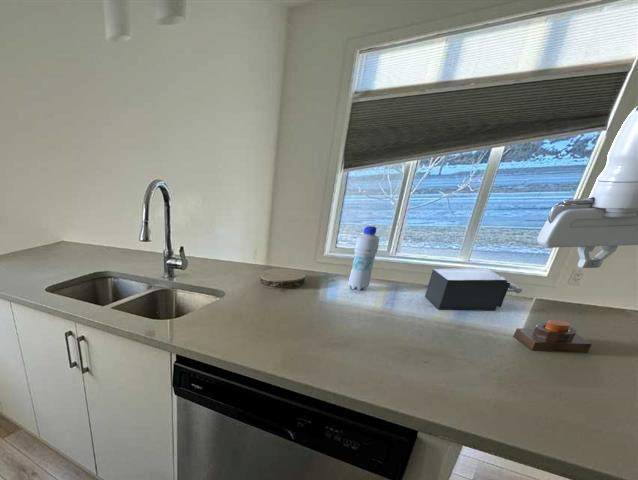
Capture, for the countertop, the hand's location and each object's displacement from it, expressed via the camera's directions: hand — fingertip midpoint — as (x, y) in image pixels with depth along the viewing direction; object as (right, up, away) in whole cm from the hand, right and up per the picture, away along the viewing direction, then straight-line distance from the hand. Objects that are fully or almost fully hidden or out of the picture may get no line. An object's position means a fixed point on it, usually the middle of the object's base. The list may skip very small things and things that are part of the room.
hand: (587, 267), depth 85 cm
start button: (-1, -13, +6) cm, 14 cm away
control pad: (0, -16, +8) cm, 17 cm away
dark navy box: (0, -1, +33) cm, 33 cm away
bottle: (-20, +7, +51) cm, 55 cm away
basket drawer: (+3, -1, +31) cm, 31 cm away
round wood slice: (-41, +13, +63) cm, 76 cm away
